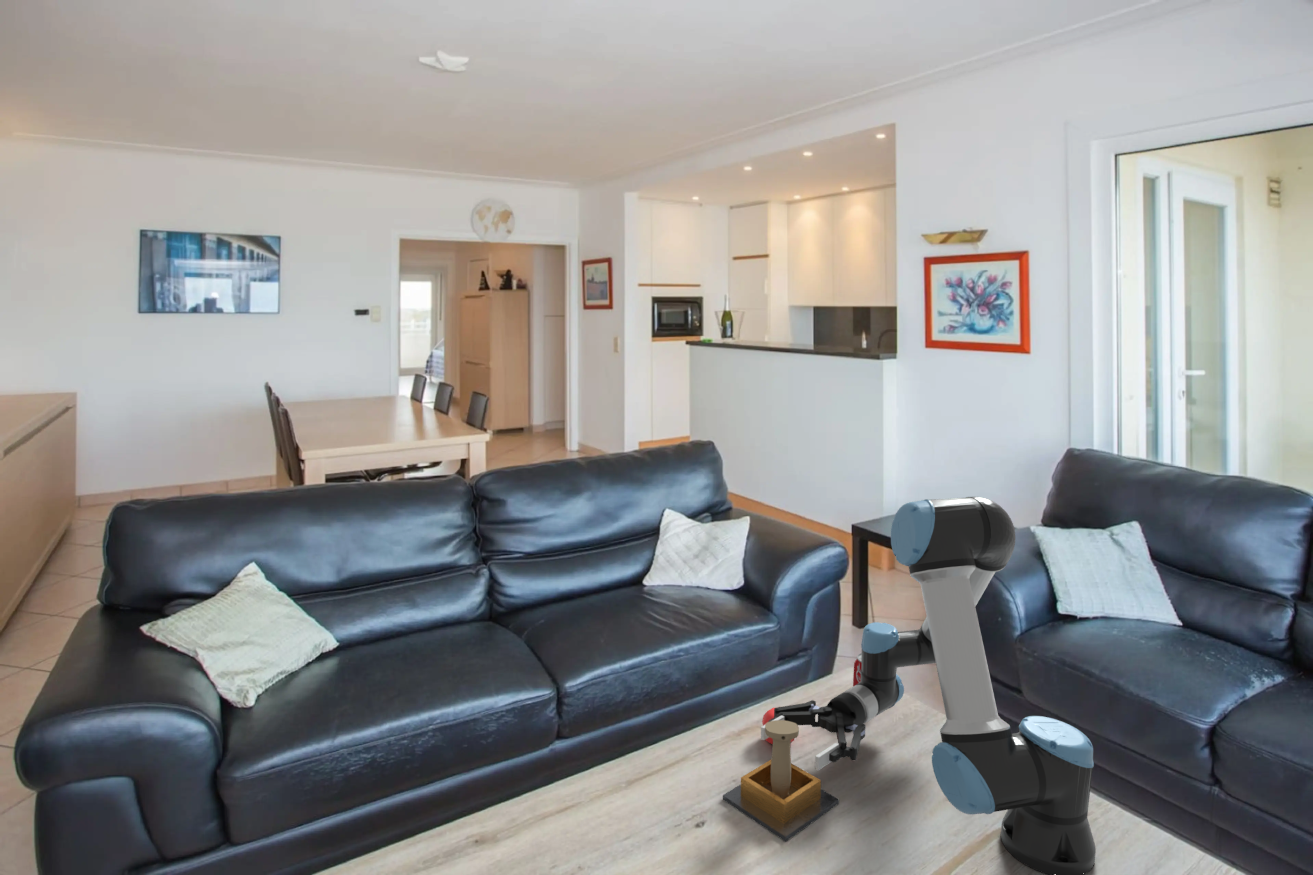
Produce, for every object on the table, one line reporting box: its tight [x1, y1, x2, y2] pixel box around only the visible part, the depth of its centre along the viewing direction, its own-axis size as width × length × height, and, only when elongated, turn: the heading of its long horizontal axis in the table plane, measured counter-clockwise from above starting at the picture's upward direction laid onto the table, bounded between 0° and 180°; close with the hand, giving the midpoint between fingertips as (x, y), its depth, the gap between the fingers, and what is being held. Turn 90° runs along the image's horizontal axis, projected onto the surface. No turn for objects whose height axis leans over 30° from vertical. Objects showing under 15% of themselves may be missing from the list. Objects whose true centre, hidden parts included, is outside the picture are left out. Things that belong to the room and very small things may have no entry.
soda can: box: [852, 652, 862, 687], centre depth 187 cm, size 7×7×12 cm
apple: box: [761, 707, 796, 745], centre depth 173 cm, size 8×8×8 cm
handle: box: [765, 720, 800, 800], centre depth 151 cm, size 5×6×15 cm
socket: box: [722, 758, 840, 842], centre depth 152 cm, size 16×16×5 cm
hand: (788, 747), depth 152 cm, fingers open, 13 cm apart
